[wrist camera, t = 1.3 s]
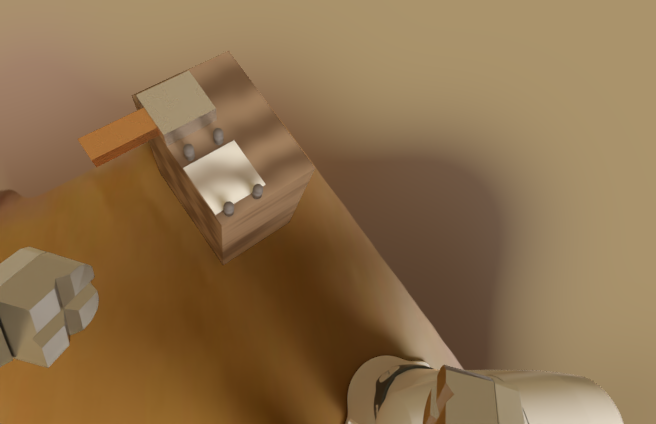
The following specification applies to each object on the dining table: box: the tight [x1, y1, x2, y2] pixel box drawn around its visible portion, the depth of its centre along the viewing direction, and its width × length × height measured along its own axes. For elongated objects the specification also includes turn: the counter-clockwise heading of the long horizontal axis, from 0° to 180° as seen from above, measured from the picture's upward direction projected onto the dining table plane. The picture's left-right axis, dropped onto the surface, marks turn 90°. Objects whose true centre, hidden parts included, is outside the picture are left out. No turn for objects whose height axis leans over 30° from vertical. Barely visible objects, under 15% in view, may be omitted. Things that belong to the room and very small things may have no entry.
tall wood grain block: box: [132, 51, 315, 265], centre depth 67 cm, size 20×14×29 cm
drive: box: [78, 71, 217, 167], centre depth 53 cm, size 6×15×3 cm, turn 127°
